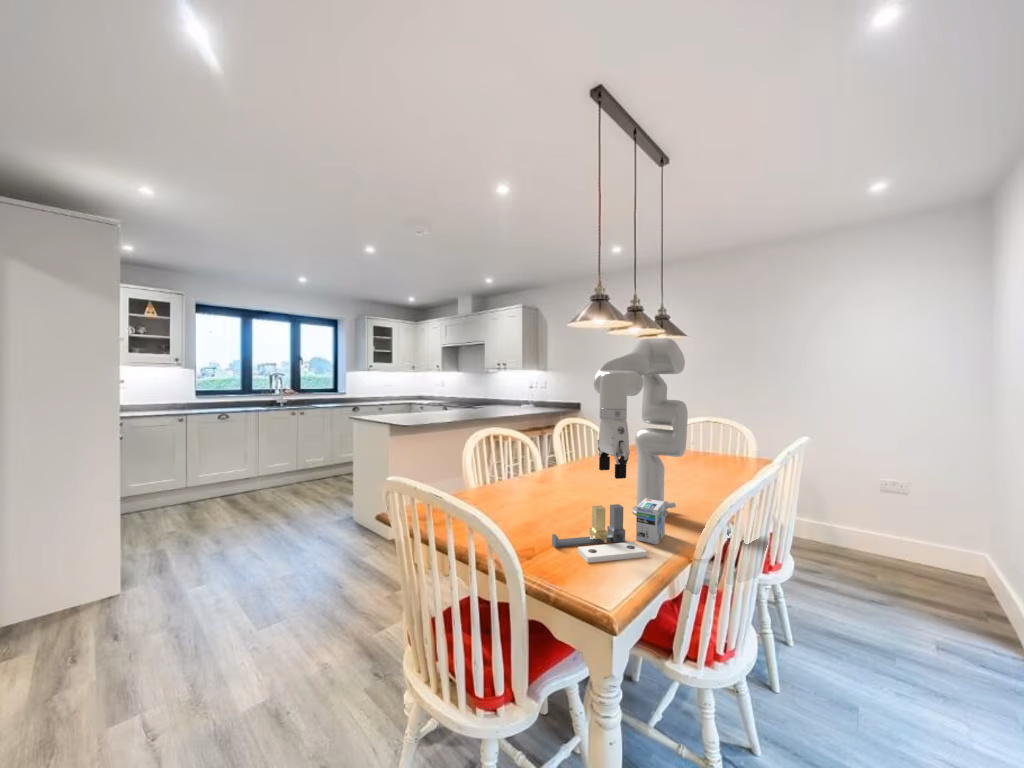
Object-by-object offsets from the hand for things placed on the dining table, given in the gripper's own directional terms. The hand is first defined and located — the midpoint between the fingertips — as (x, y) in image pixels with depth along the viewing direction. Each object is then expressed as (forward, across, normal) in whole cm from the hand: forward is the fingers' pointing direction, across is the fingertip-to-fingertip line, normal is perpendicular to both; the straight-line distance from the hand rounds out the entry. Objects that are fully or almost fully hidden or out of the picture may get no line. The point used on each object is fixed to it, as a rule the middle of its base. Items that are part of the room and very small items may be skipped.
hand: (612, 474), depth 122 cm
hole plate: (+23, -1, 0) cm, 23 cm away
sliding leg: (+21, +7, 0) cm, 22 cm away
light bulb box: (+24, +8, -18) cm, 31 cm away
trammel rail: (+23, +7, +3) cm, 24 cm away
